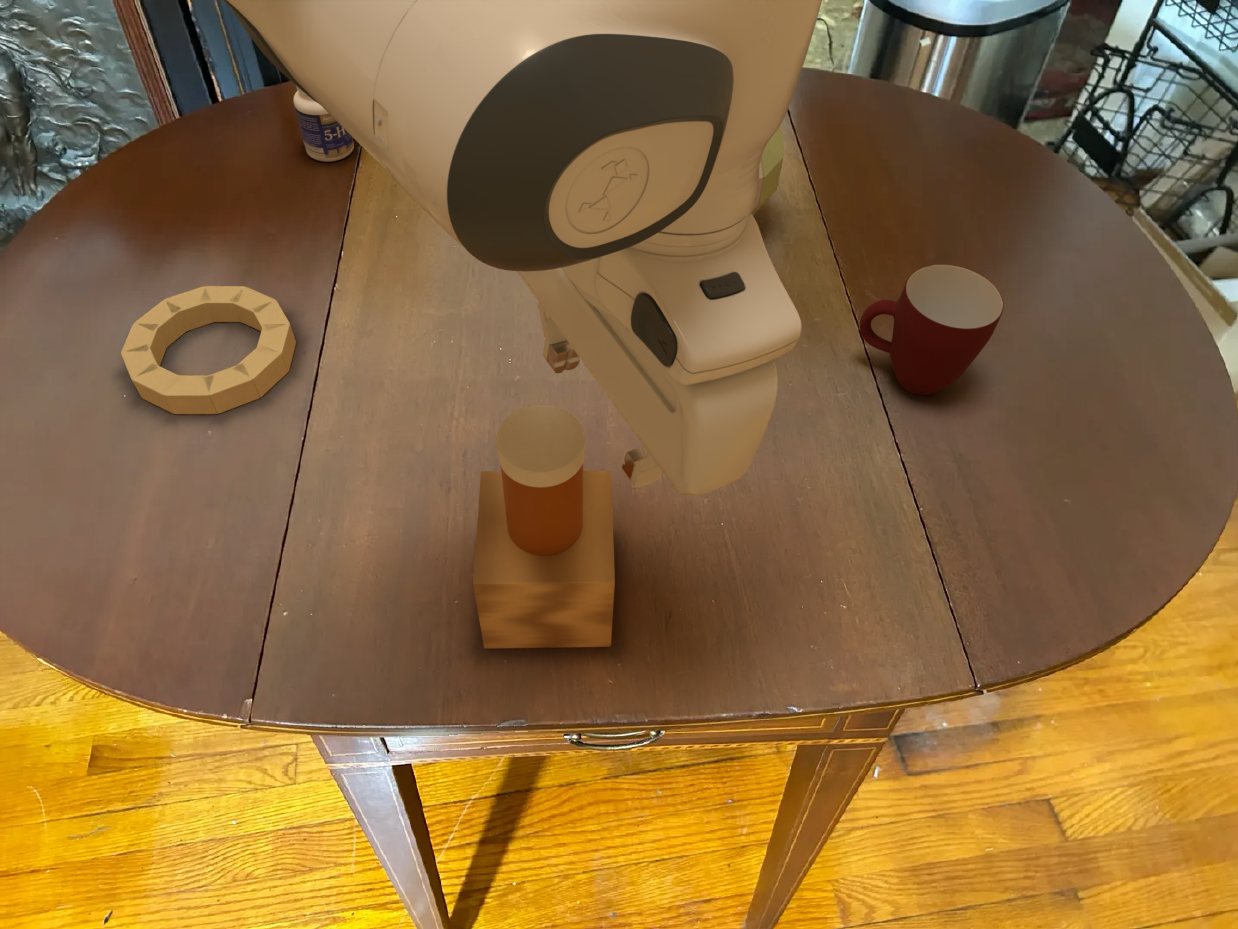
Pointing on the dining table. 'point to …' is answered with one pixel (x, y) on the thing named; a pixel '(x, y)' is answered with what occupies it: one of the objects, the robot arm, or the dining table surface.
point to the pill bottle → (321, 130)
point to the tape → (225, 385)
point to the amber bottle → (542, 478)
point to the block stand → (545, 576)
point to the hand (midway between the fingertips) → (598, 417)
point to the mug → (936, 325)
